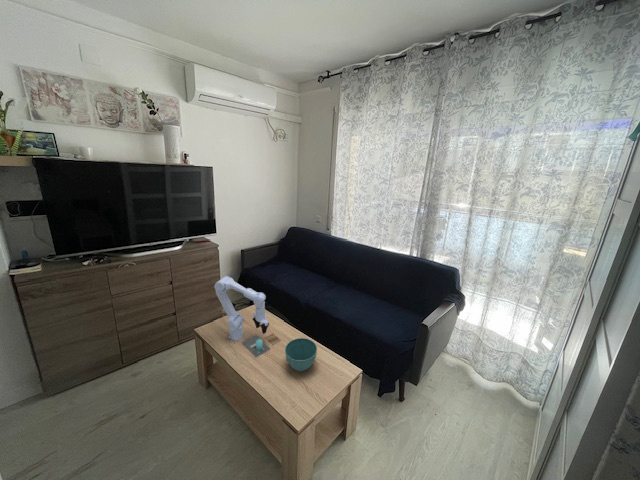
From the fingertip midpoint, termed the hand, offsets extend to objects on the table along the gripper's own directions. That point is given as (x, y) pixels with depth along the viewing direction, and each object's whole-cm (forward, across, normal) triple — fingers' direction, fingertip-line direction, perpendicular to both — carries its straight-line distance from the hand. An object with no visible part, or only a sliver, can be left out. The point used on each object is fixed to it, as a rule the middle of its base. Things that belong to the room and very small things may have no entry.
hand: (261, 330), depth 159 cm
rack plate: (+9, -2, +6) cm, 11 cm away
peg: (+9, -6, +6) cm, 13 cm away
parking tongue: (+9, -4, -6) cm, 12 cm away
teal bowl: (+10, -33, -6) cm, 35 cm away
